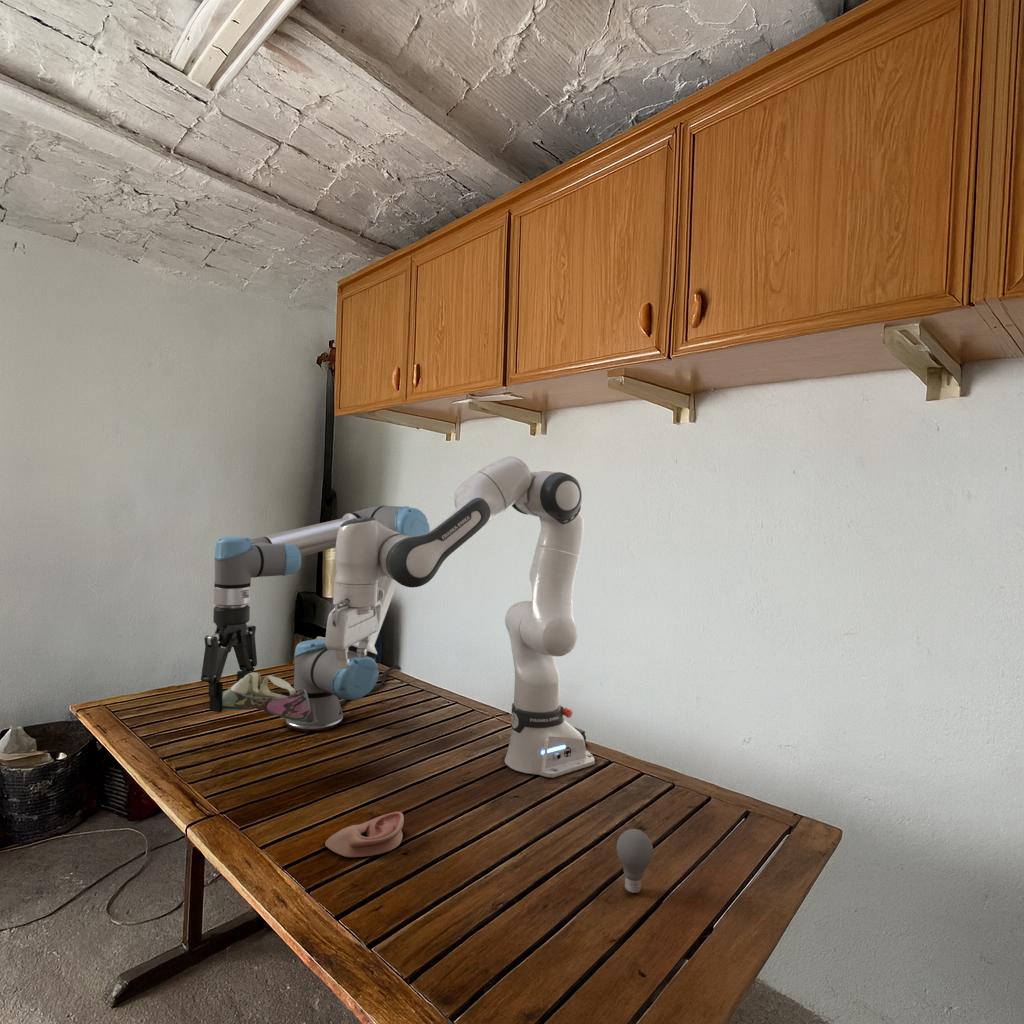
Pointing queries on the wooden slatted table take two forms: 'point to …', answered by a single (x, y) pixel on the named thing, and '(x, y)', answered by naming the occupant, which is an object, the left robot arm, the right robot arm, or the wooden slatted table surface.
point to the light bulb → (634, 857)
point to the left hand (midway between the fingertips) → (229, 705)
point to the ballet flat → (267, 697)
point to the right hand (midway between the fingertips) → (352, 662)
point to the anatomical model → (368, 837)
